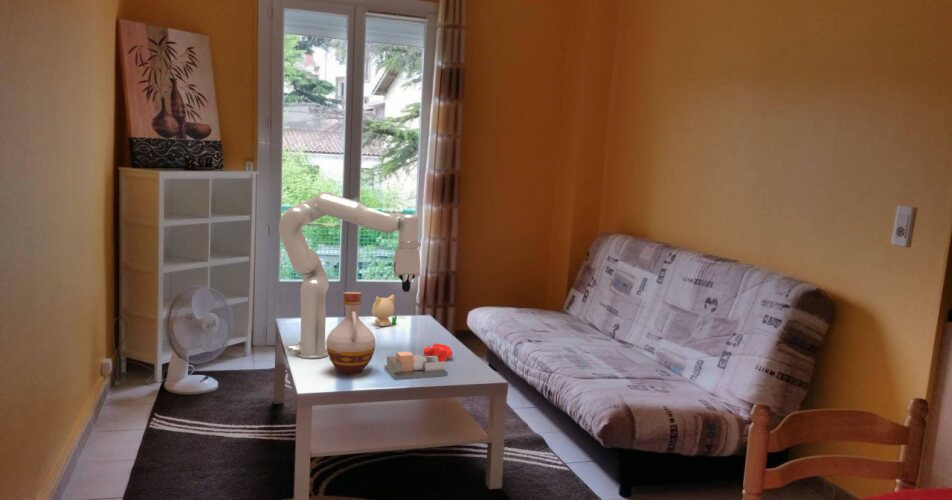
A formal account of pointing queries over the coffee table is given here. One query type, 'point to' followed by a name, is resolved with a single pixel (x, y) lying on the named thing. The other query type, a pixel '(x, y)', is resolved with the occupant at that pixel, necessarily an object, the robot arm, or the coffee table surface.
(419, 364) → the light grey sliding block
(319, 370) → the coffee table surface
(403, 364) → the block
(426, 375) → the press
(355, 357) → the jug
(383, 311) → the kitten
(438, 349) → the animal figurine
